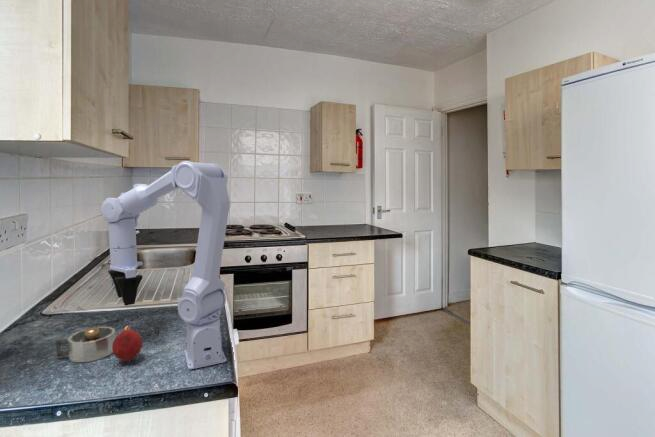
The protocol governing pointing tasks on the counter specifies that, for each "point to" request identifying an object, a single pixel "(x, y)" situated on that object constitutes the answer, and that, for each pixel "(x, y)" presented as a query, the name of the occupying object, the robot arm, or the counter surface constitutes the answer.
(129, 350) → the onion
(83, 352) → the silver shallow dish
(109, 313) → the counter surface
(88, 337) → the plunger
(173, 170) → the robot arm
